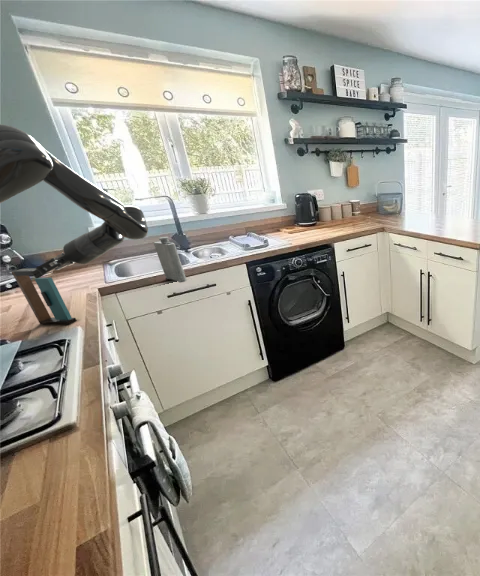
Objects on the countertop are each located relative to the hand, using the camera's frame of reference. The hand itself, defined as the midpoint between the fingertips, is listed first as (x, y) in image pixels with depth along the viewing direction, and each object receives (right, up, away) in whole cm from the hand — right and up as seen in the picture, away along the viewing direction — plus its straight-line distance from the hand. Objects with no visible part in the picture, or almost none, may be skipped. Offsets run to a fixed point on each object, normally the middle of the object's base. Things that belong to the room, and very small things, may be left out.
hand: (46, 271), depth 98 cm
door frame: (-6, -18, +9) cm, 20 cm away
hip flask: (+11, -1, +47) cm, 48 cm away
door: (-3, -16, +8) cm, 18 cm away
